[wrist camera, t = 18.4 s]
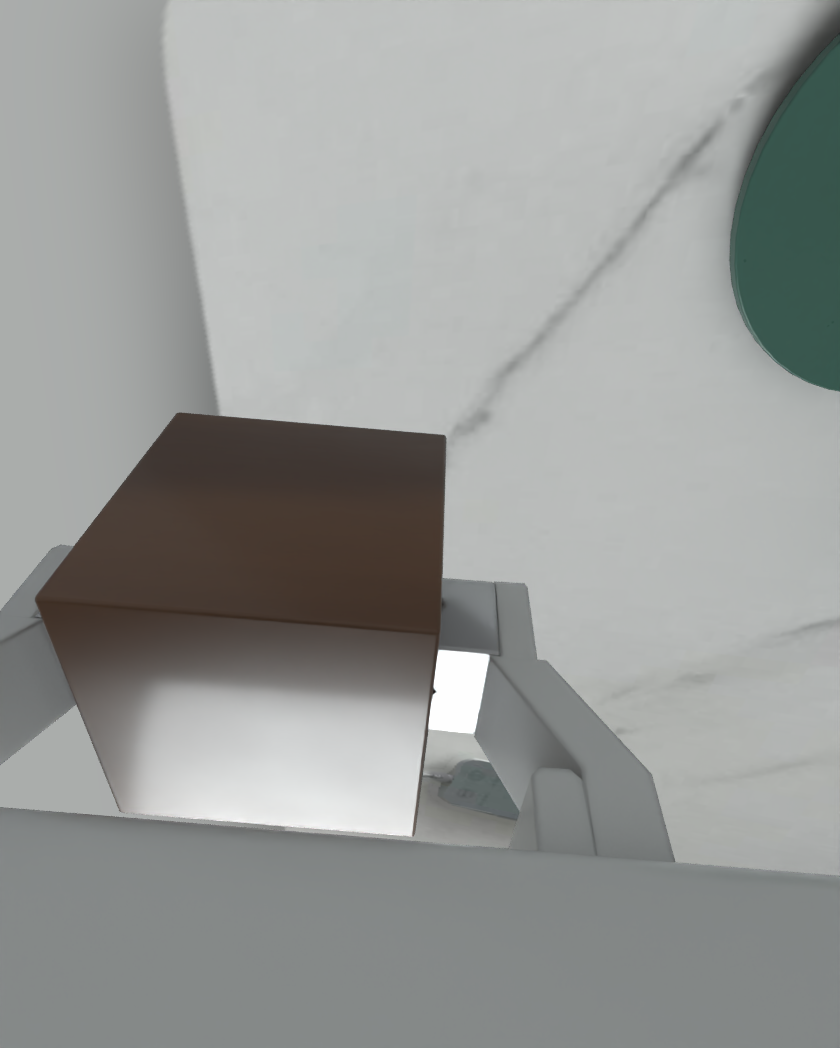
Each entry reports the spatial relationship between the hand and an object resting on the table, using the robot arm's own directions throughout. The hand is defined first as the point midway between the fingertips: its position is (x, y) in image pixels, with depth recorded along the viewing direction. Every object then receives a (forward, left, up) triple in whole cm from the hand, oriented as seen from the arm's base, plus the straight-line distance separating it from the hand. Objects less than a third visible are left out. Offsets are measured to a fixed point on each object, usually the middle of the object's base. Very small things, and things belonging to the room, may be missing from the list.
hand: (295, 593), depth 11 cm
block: (0, 0, -2) cm, 2 cm away
